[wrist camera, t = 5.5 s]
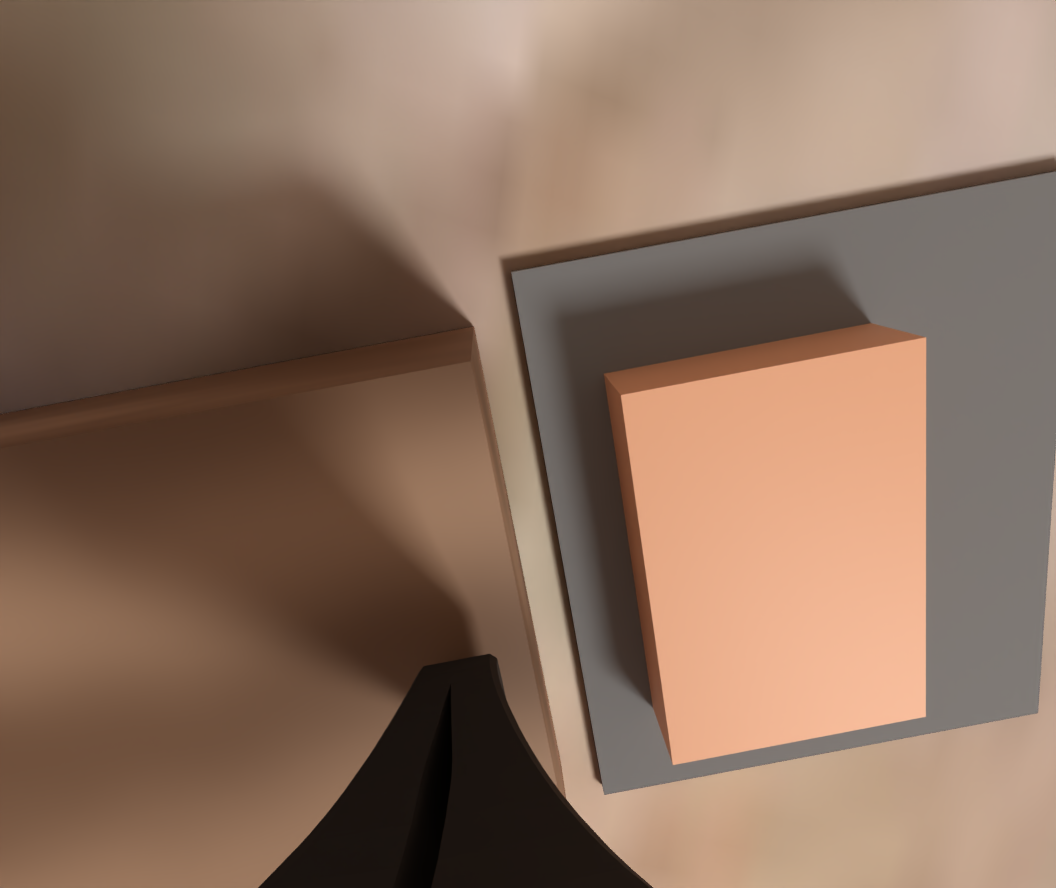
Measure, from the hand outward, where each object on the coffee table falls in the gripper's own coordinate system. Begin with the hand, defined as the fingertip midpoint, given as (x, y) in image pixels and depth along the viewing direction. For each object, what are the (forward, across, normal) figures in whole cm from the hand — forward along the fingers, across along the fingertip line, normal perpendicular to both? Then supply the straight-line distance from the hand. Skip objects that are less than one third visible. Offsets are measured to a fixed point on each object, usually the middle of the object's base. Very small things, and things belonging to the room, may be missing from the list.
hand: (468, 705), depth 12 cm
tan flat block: (+5, +6, 0) cm, 7 cm away
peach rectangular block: (+2, -7, 0) cm, 7 cm away
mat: (+5, -8, 0) cm, 9 cm away
